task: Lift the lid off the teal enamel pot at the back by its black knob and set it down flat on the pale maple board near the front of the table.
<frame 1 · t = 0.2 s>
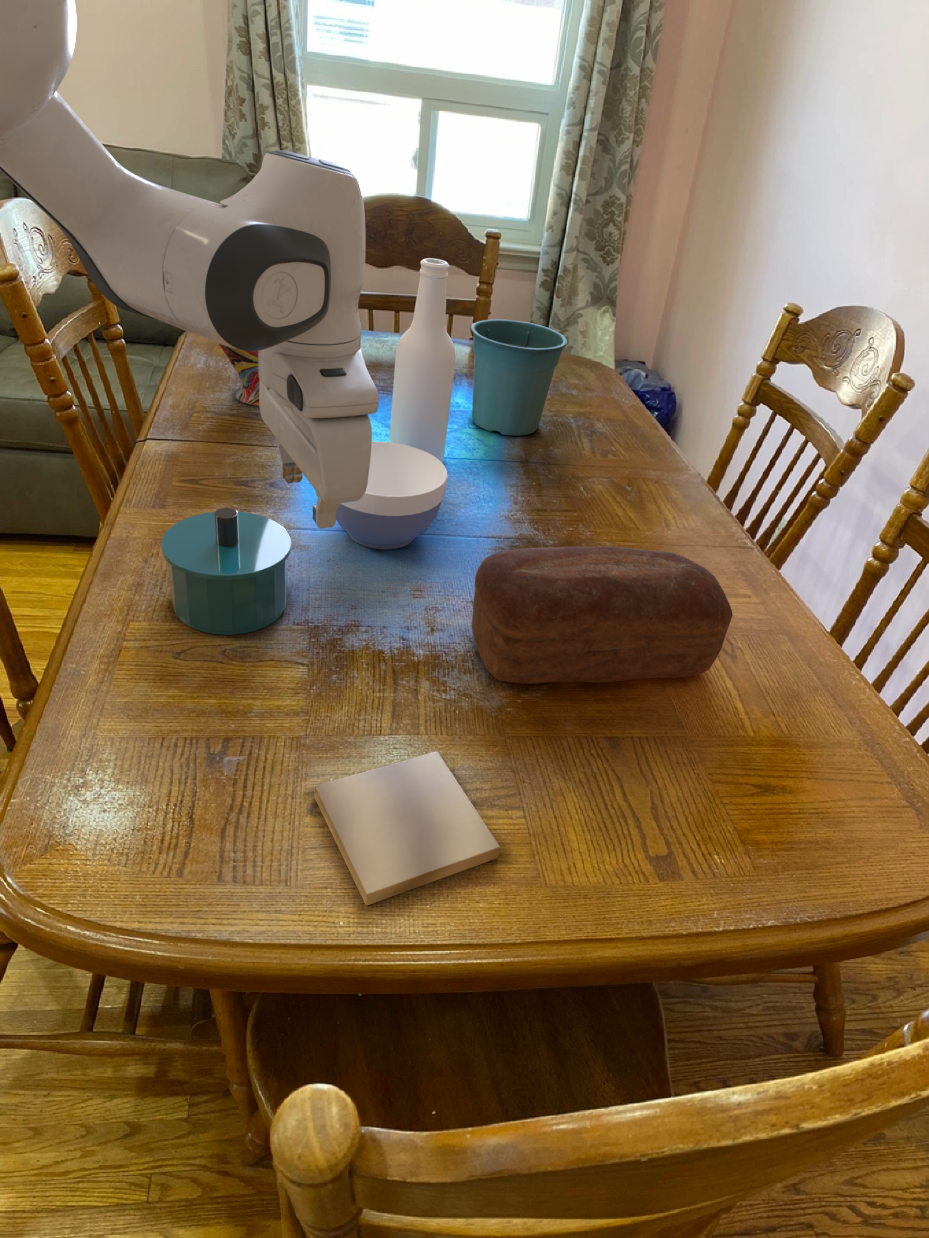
hand: (307, 501, 80), 17 cm above the table, tool pointing down, fingers open, 8 cm apart
pot: (230, 602, 94), on the table
vase: (260, 398, 144), on the table
pot lid: (227, 546, 90), point 7 cm above the table, touching pot
bowl: (381, 533, 111), on the table
bread: (587, 655, 94), on the table
flower pot: (504, 424, 148), on the table
alcohol: (415, 462, 130), on the table
board: (404, 827, 71), on the table
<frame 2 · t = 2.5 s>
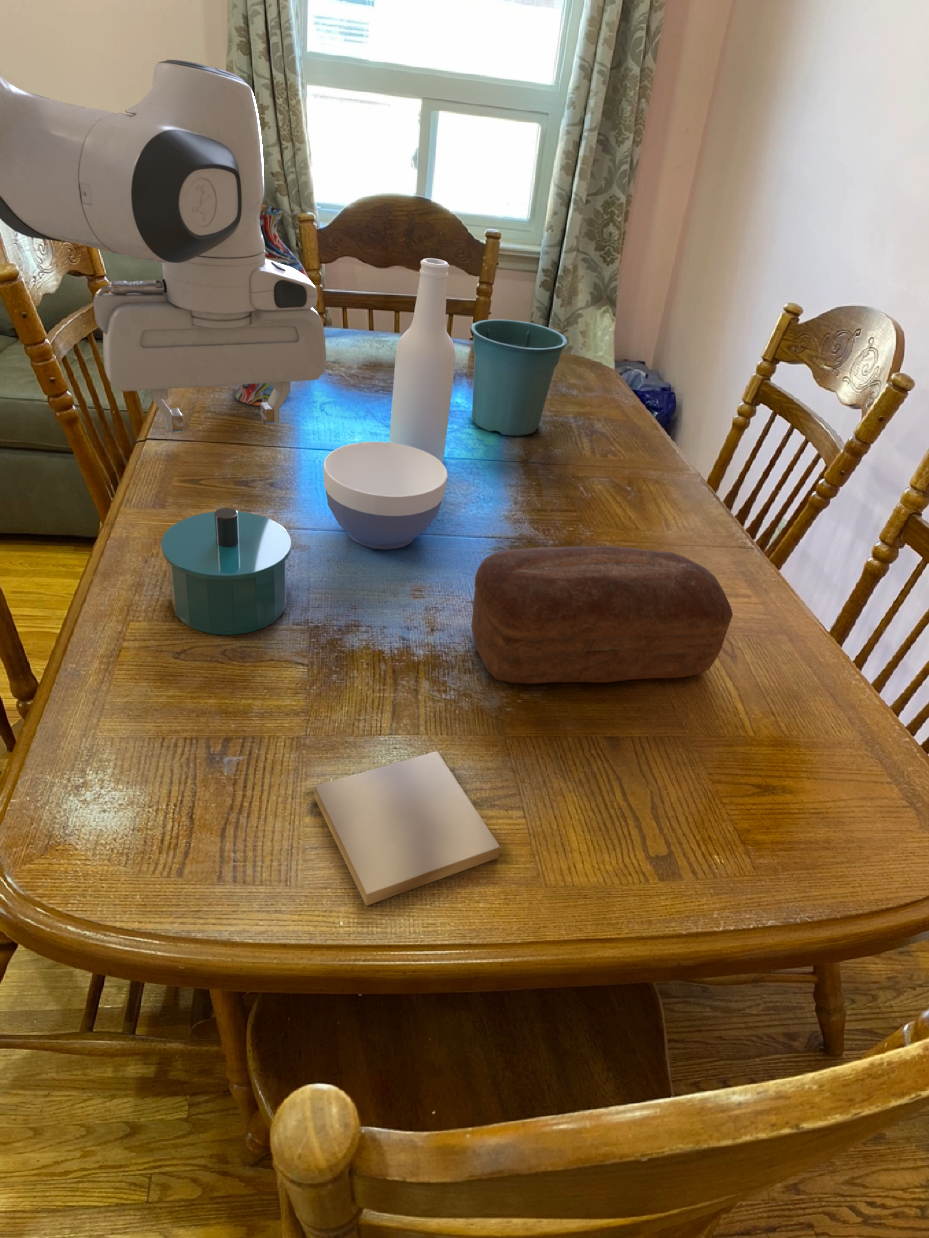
hand: (222, 425, 82), 21 cm above the table, tool pointing down, fingers open, 8 cm apart
nothing on the table moved.
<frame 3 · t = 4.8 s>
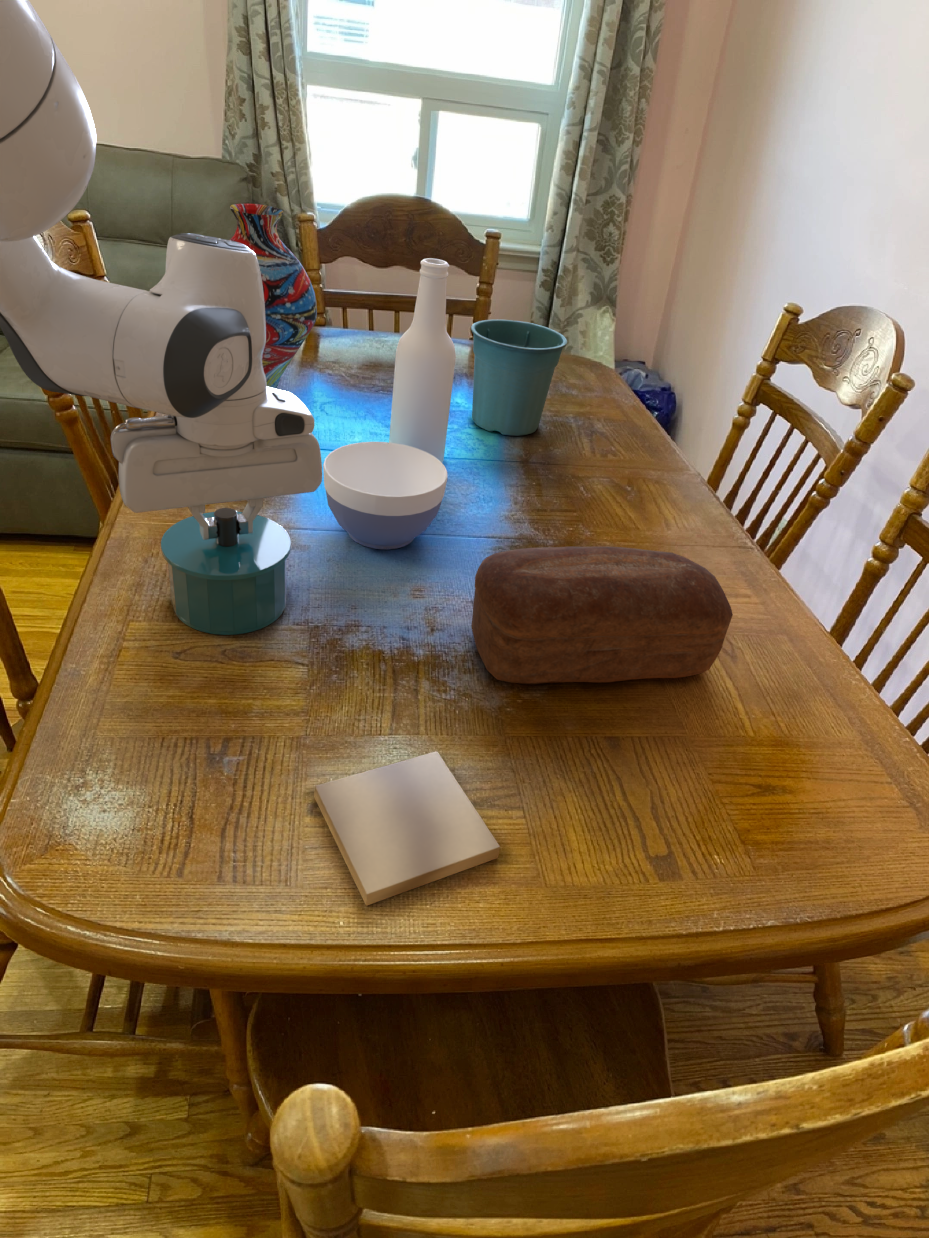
hand: (227, 534, 89), 9 cm above the table, tool pointing down, fingers closed on pot lid, 2 cm apart
pot lid: (227, 546, 90), point 8 cm above the table, touching gripper, pot
everything else where it was.
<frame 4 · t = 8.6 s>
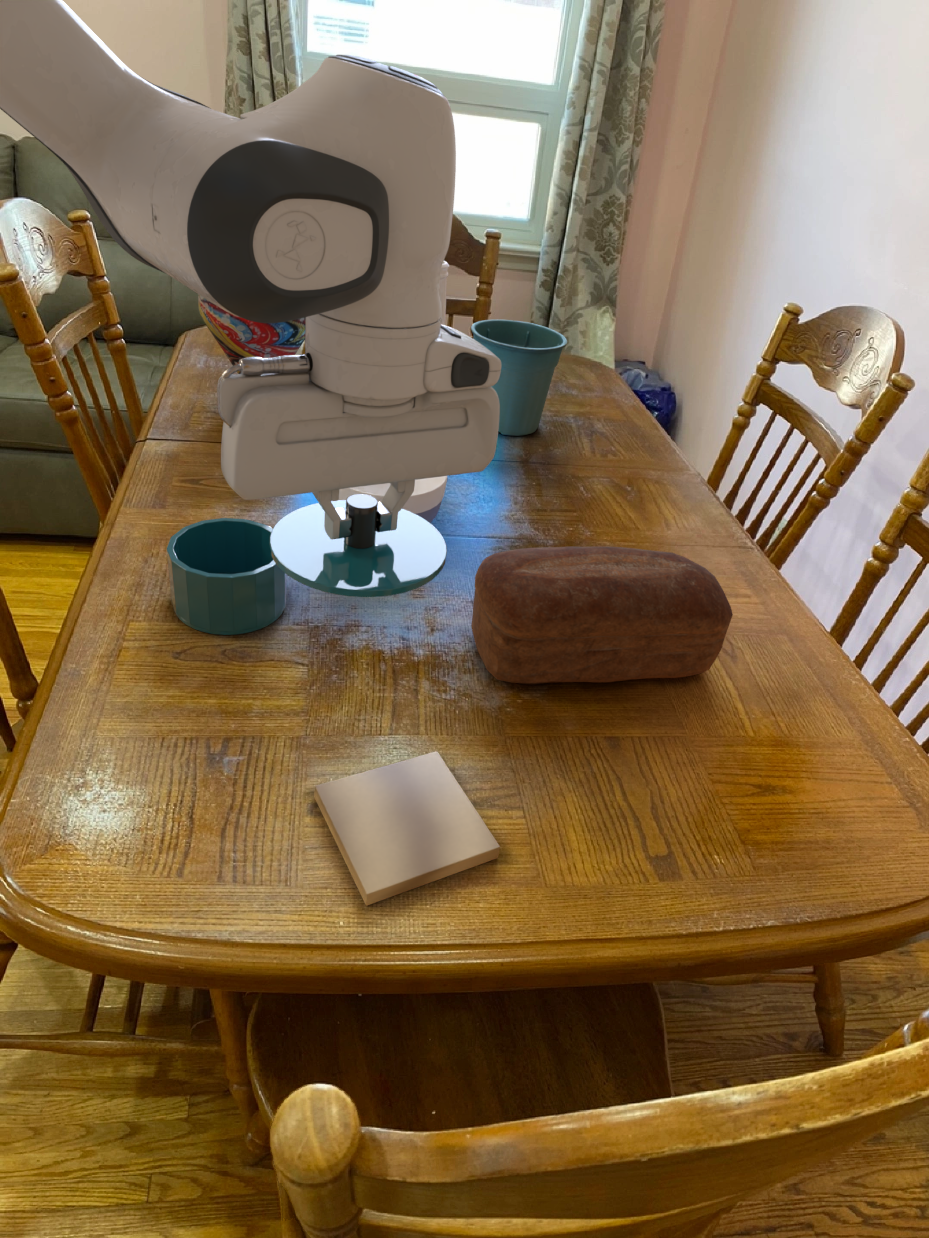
hand: (360, 531, 63), 24 cm above the table, tool pointing down, fingers closed on pot lid, 2 cm apart
pot lid: (359, 548, 64), point 23 cm above the table, touching gripper
everything else where it was.
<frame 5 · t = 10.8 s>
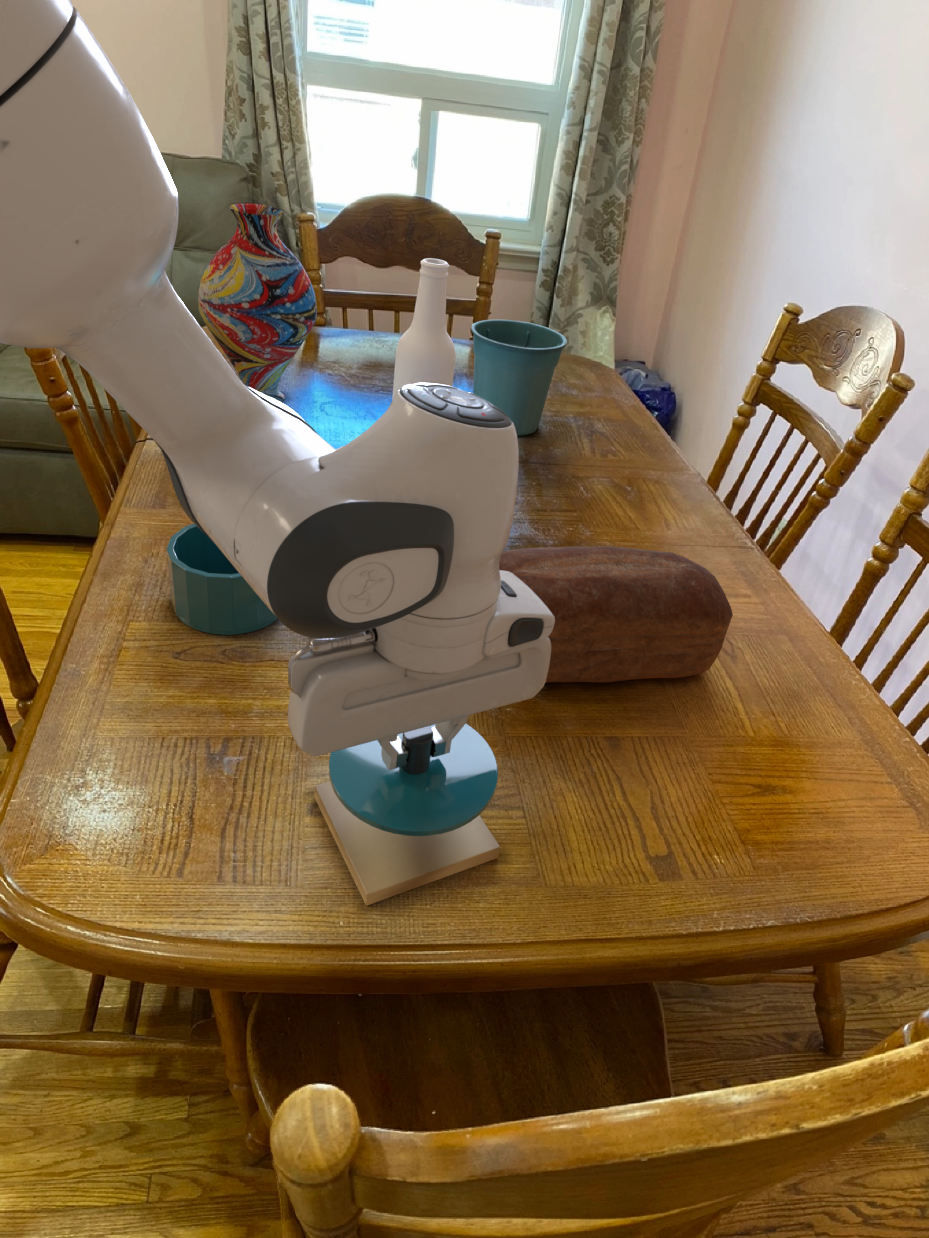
hand: (415, 756, 66), 9 cm above the table, tool pointing down, fingers closed on pot lid, 2 cm apart
pot lid: (413, 769, 66), point 7 cm above the table, touching gripper
everything else where it was.
when the fingers open (3 cm above the table, at t = 12.3 s): pot lid stays where it is, resting on board.
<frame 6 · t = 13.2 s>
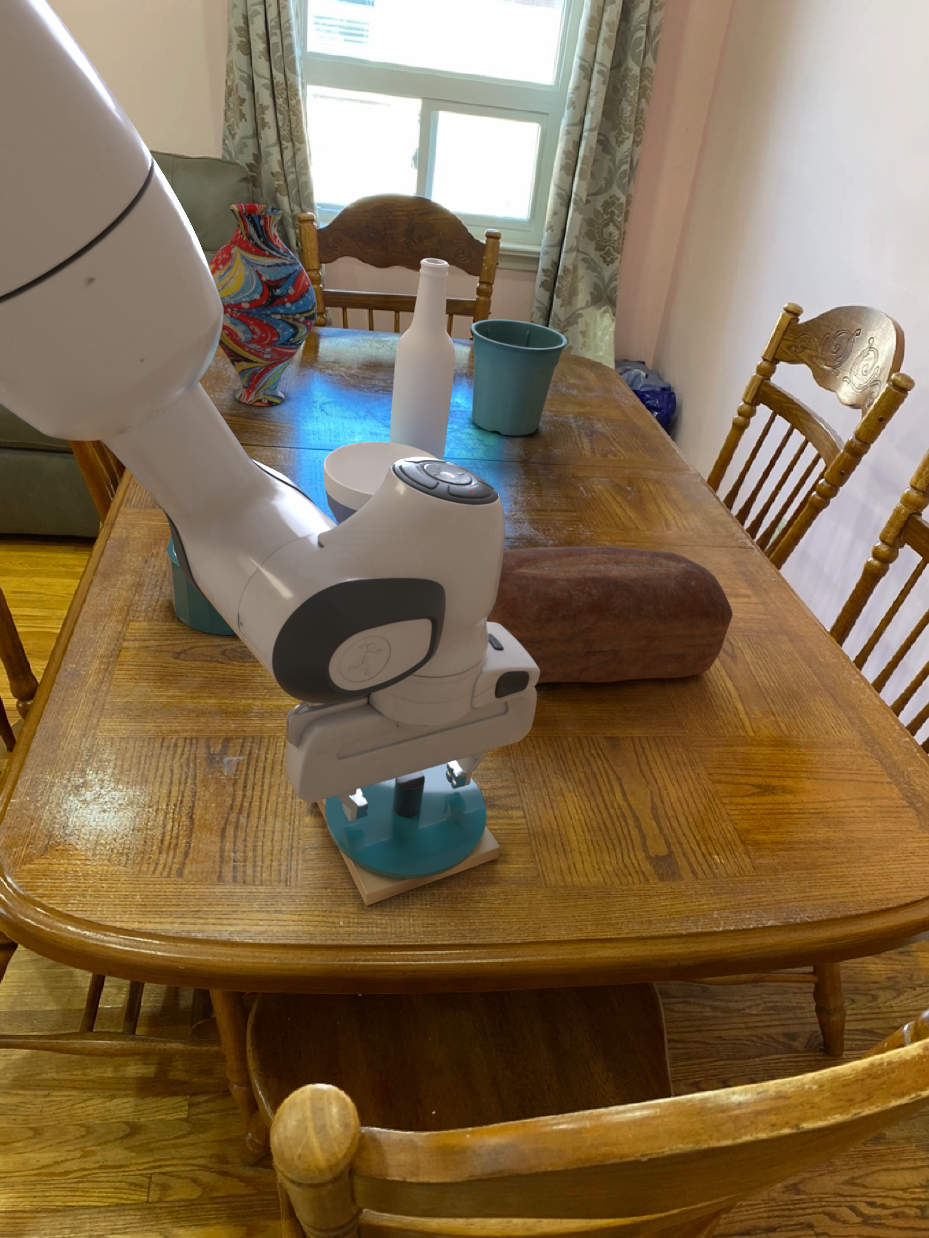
hand: (407, 797, 69), 4 cm above the table, tool pointing down, fingers open, 8 cm apart
pot lid: (406, 811, 69), point 2 cm above the table, touching board
everything else where it was.
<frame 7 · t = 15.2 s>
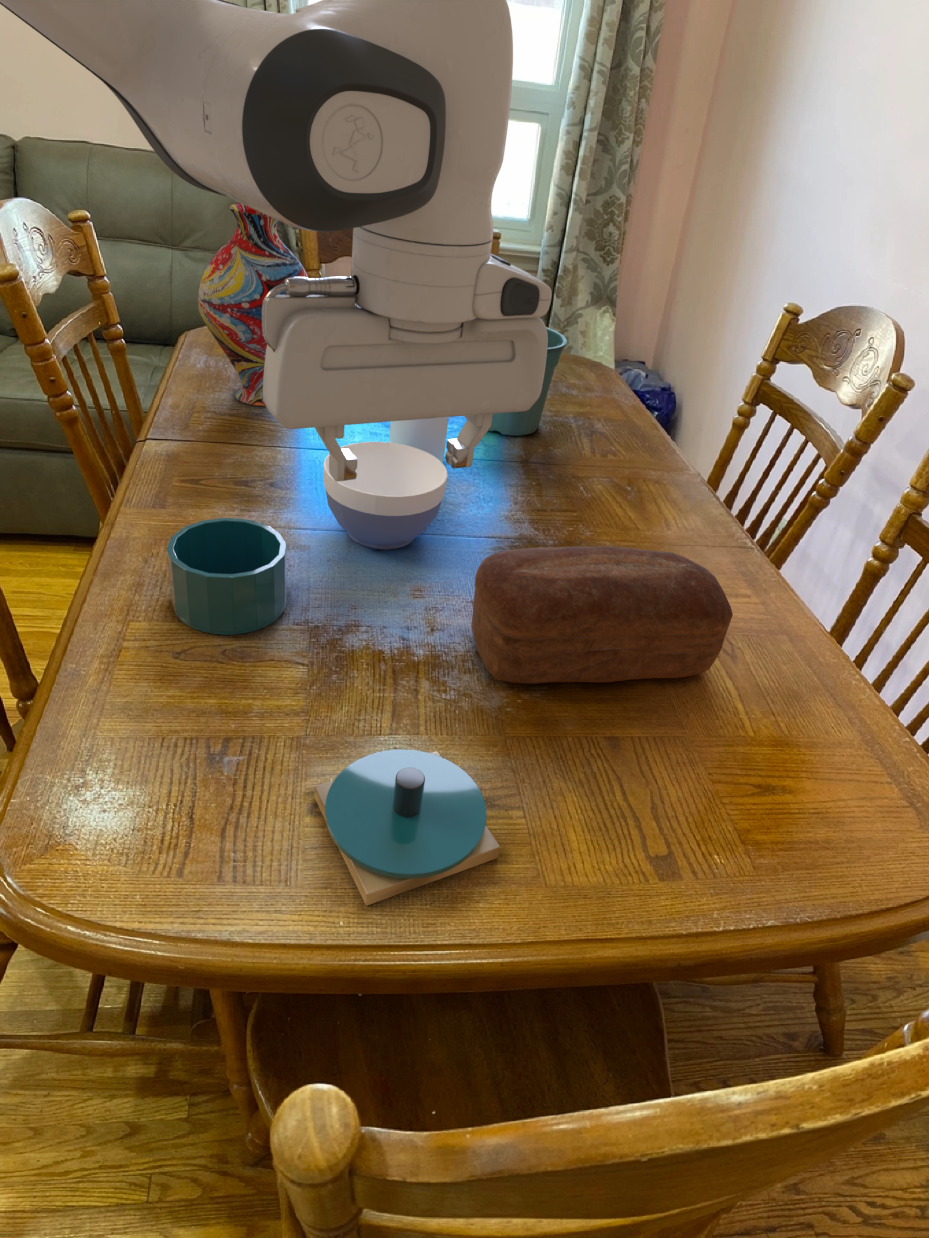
hand: (402, 471, 61), 29 cm above the table, tool pointing down, fingers open, 8 cm apart
nothing on the table moved.
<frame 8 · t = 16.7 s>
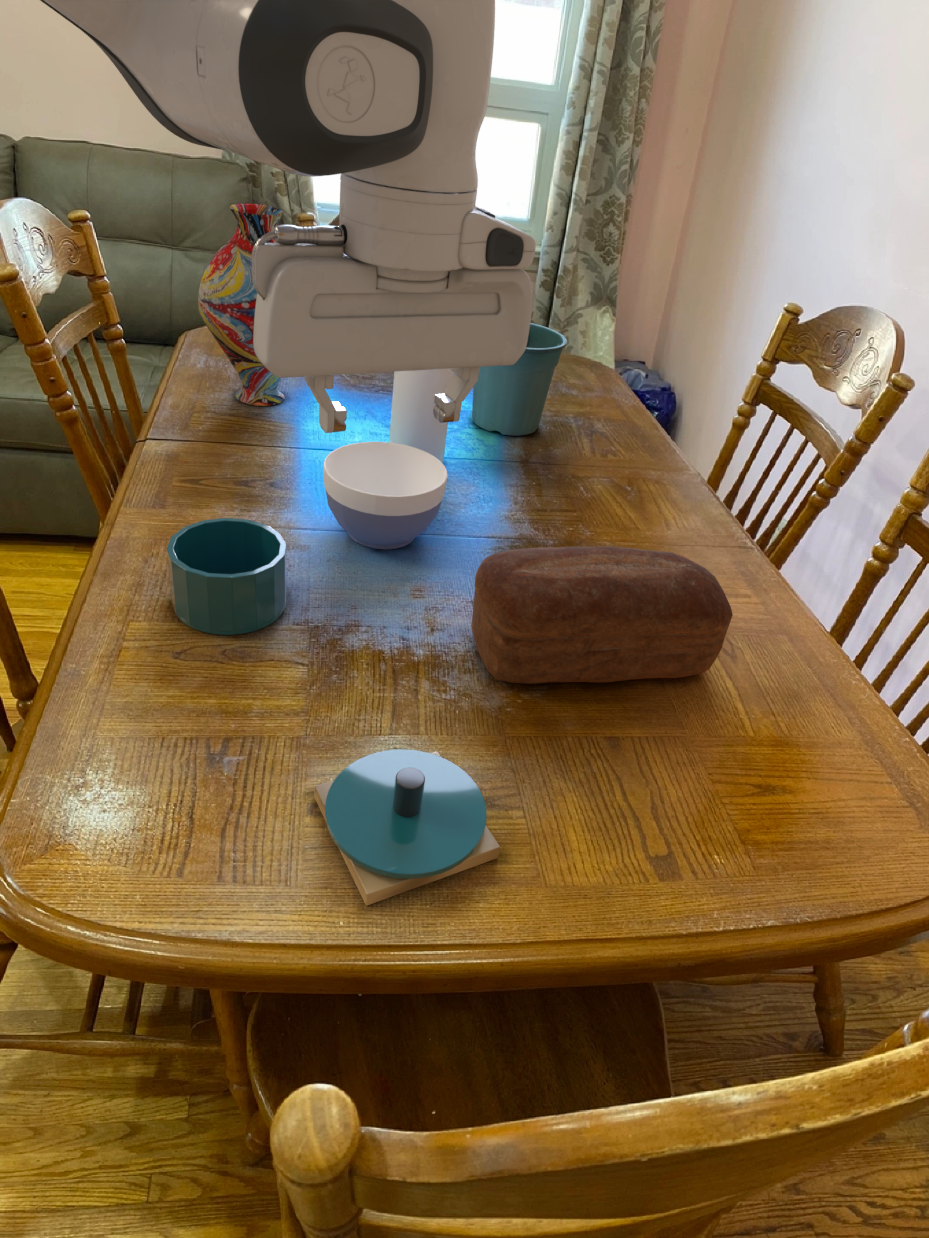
hand: (391, 424, 63), 31 cm above the table, tool pointing down, fingers open, 8 cm apart
nothing on the table moved.
at the end: pot lid inside the target area on the board (0.1 cm from its centre), point 2.1 cm above the board's base; pot lid touching board; pot lid tilted 0° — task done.
